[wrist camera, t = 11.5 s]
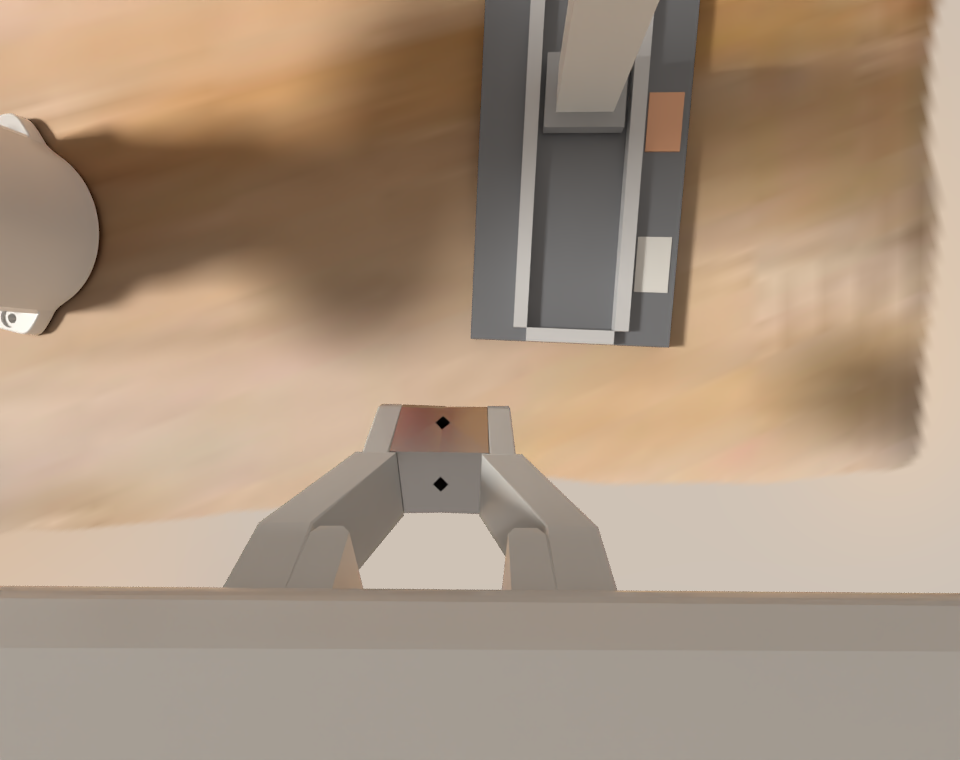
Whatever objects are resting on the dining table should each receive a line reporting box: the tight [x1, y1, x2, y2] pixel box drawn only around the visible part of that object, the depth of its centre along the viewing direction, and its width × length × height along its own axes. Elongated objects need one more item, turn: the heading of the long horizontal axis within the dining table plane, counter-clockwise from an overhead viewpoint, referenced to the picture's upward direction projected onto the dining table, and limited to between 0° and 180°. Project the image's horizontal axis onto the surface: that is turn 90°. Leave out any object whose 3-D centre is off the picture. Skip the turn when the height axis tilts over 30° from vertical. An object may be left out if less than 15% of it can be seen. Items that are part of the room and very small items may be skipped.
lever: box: [543, 0, 659, 133], centre depth 22 cm, size 6×5×11 cm
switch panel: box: [471, 0, 700, 347], centre depth 29 cm, size 15×28×2 cm, turn 177°
